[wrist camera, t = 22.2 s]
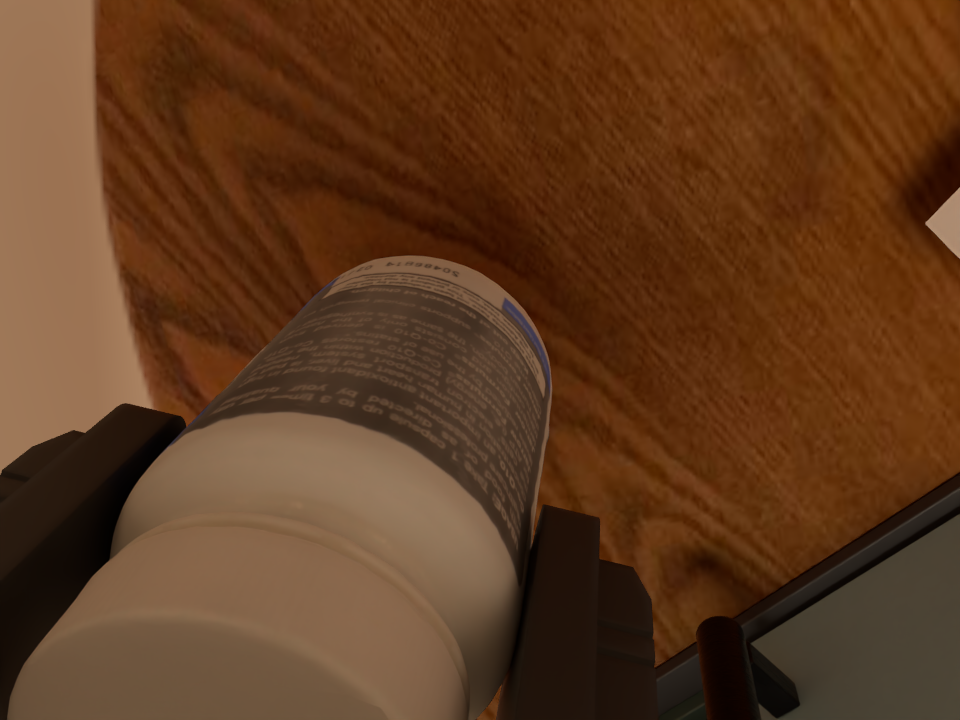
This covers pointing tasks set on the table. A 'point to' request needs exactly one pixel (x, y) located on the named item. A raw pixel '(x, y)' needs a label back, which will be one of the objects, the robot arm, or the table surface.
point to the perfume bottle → (948, 223)
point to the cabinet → (807, 594)
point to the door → (850, 647)
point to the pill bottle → (327, 523)
